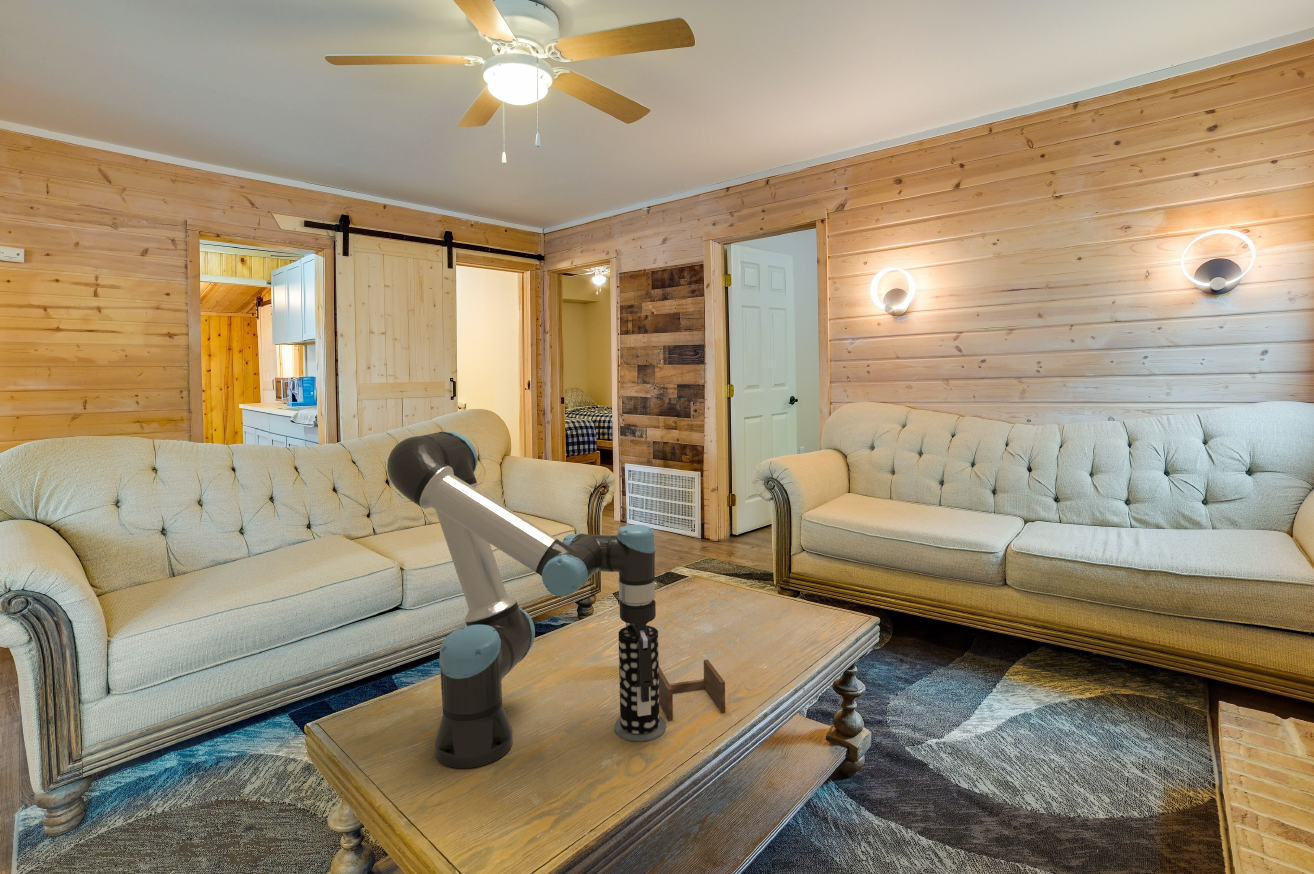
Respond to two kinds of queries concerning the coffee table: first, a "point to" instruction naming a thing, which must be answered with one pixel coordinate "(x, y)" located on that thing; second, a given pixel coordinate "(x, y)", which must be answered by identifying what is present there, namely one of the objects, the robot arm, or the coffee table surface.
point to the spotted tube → (630, 678)
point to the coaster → (640, 737)
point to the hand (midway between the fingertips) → (639, 703)
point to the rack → (709, 683)
